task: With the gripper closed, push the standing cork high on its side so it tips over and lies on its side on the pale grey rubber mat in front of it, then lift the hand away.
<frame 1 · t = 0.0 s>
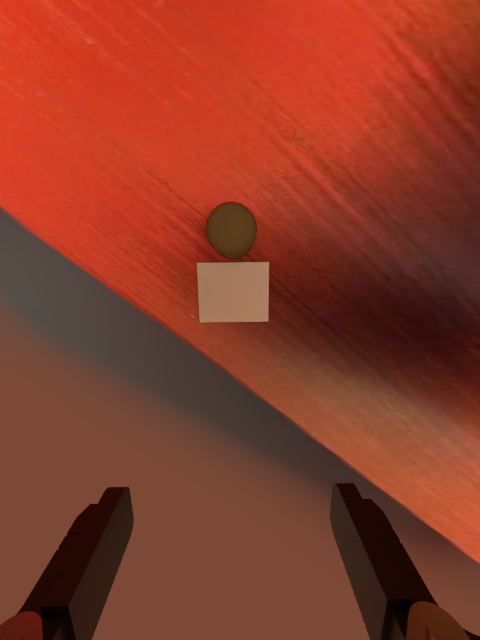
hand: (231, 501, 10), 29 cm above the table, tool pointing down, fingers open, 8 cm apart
cork: (232, 236, 36), on the table
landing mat: (233, 292, 38), on the table
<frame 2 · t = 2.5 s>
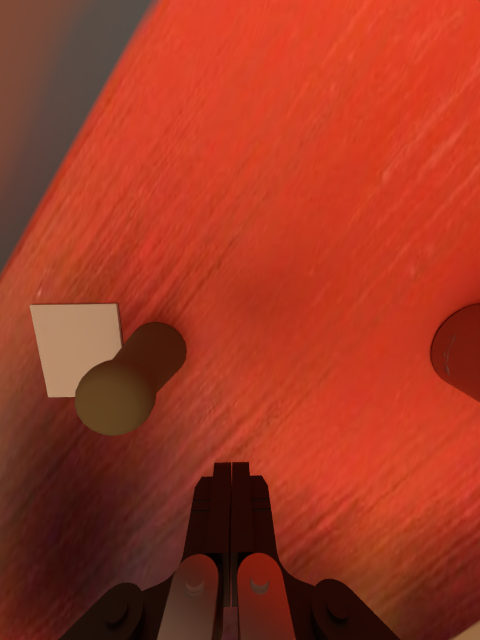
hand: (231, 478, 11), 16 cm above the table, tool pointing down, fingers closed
cork: (158, 349, 28), on the table
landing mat: (83, 351, 27), on the table
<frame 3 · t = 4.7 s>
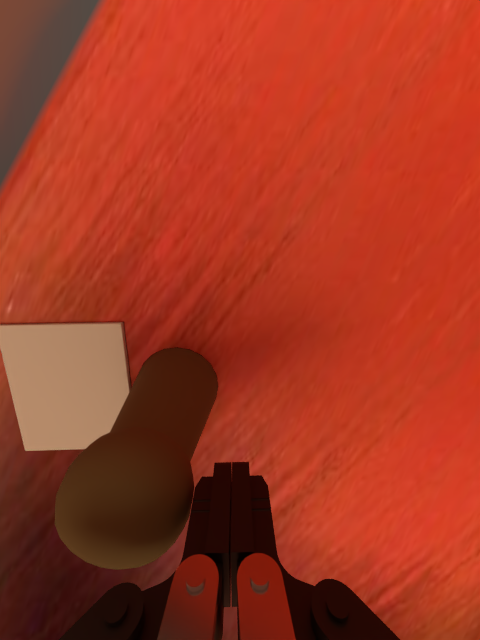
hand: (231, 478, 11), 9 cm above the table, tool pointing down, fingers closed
cork: (178, 384, 20), on the table, touching gripper
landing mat: (73, 388, 20), on the table
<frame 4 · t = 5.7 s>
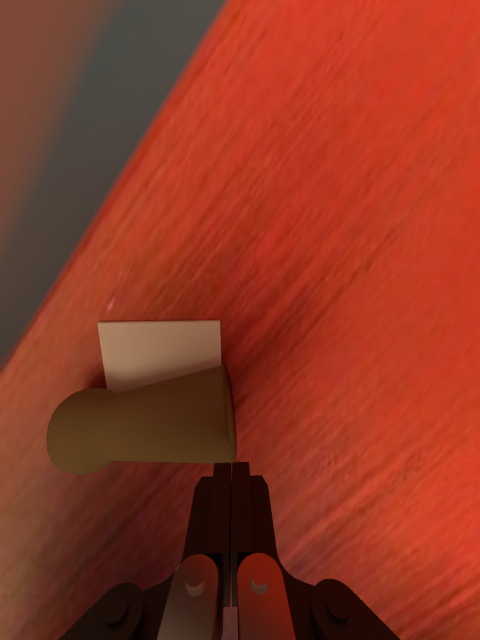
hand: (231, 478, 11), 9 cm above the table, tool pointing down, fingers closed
cork: (233, 410, 17), point 3 cm above the table, touching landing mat
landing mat: (165, 385, 20), on the table
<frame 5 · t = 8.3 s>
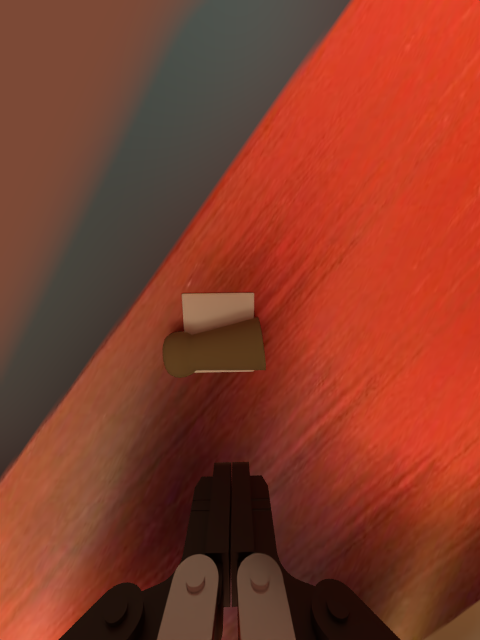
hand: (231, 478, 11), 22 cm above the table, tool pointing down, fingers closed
cork: (263, 342, 30), point 3 cm above the table, touching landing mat
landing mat: (219, 333, 33), on the table
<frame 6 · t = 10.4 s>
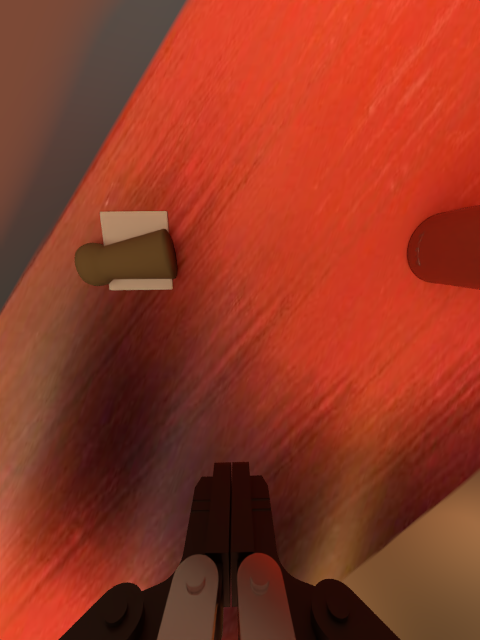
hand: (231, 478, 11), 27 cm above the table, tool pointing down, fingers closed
cork: (171, 254, 32), point 3 cm above the table, touching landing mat
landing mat: (138, 252, 35), on the table
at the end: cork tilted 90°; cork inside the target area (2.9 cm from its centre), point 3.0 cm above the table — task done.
